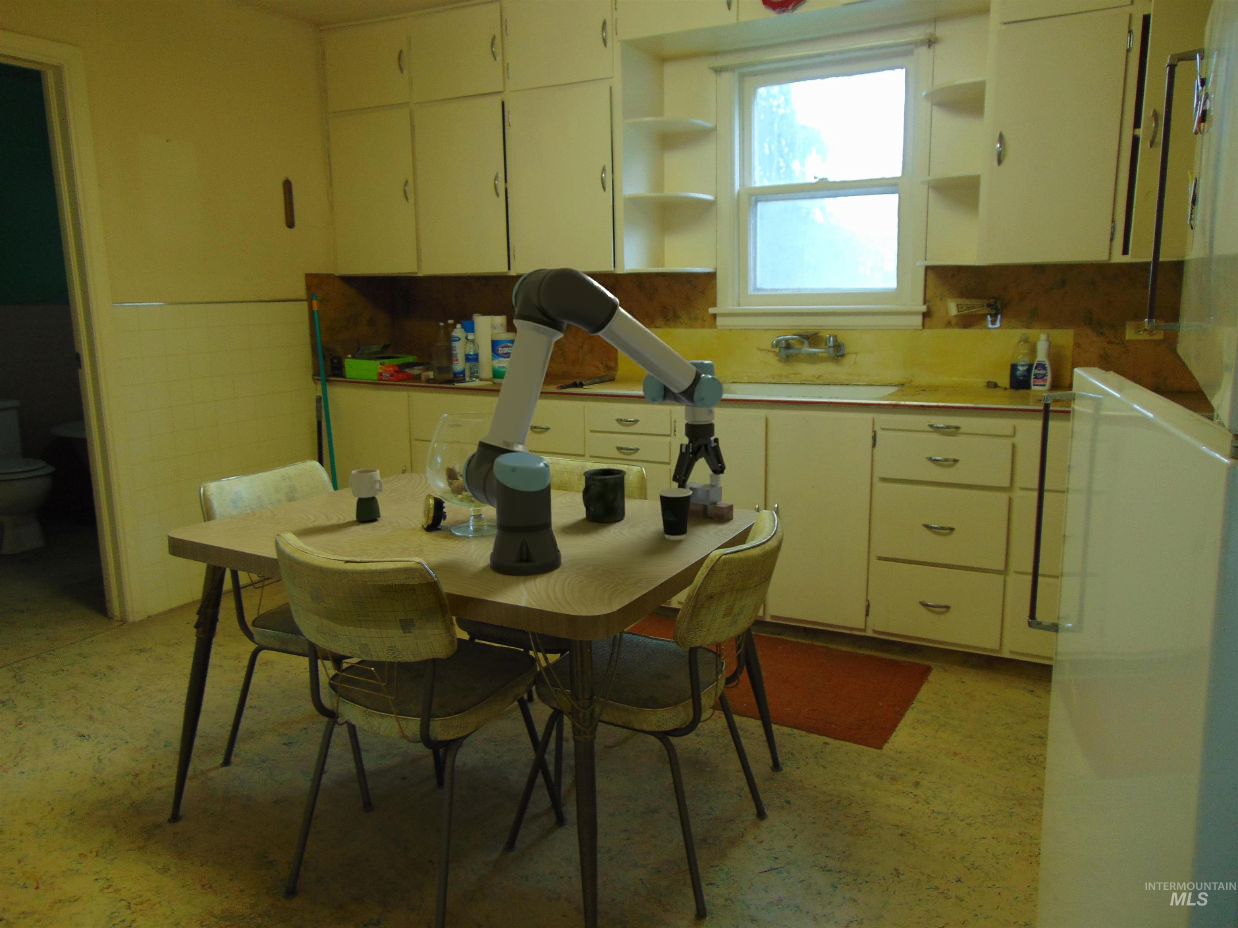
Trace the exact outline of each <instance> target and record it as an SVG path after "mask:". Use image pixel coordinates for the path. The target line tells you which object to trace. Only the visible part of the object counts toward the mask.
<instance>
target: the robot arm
mask: <svg viewBox="0 0 1238 928" xmlns="http://www.w3.org/2000/svg"><path fill="white" fill-rule="evenodd" d="M512 305H513V306H514V310H515V312H514V313H515V314H514V316H513V321H512V322H513V324H514V326H515V328H516V335H515V337H514V342H513V345H512V348H511V352H510V356H509V360H508V363H507V367H506V369H505V373H504V377H503V380H502V385H501V387H500V392H499V393H498V394H499V396H498V398H497V403H496V406H495V409H494V413H493V417H492V418H491V419H492V420H491V423H490V427H489V430H488V433H487V434H486V435H484V436H483V437H481V438H479V440H478V444H477V447H476V450H475V452H474V453H471V454H470V455H469V457H467V459H466V460H465V462H464V465H463V469H462V473H461V474H462V481H463V485H464V487H465V489H466V490H467V492H468V494H469V495H471V497H473V498H474V499H475V500H477V501H478V502H479V503H482V504H485V505H489V506H490V507H492V508H495V516H496V517H495V518H496V520H495V521H496V534H495V538H494V542H493V547H492V551H491V553H490V555H489V568H490V569H491V570H492V571H494V572H496V573H499V574H503V575H510V576H530V575H539V574H545V573H548V572H551V571H554V570H556V569H558V568H559V567H561V565H562V554H561V550H560V549H559V546H558V542H557V538H556V537H555V534H554V533H555V532H554V531H553V523H552V522H553V521H552V517H553V516H552V487H551V485H552V484H551V483H552V474H551V469H550V464H549V461H548V460H547V459H546V458H544V457H543V456H541V455H539V454H536V453H530V450H529V449H528V447H527V440H528V437H529V433H530V429H531V427H532V422H533V420H534V415H535V412H536V408H537V404H538V401H539V397H540V393H541V390H542V386H543V385H544V384H543V383H544V379H545V377H546V373H547V370H548V366H549V362H550V358H551V356H552V352H553V349H554V345H555V342H556V341H557V340H559V339H561V338H563V337H564V335H565V331H566V327H567V324H570V325H573V326H576V327H578V328H581V329H582V330H583V331H585V332H587V333H588V334H589V335H591V336H597V335H598V336H600V338H602V339H604V340H605V341H606V342H607V343H608V344H610V345H612V346H613V347H614V348H615V349H616V350H618V351H619V352H621V353H622V354H623V355H625V356H626V357H627V358H629V359H630V360H631V361H632V362H634V363H635V364H637V365H638V366H639V367H640V368H642V369H643V370H644V371H646V372H648V373H647V374H646V375H645V376H644V378H643V381H642V393H643V396H644V398H645V399H646V401H647V402H649V403H653V404H654V403H658V404H662V403H672V404H673V403H674V404H678V405H684V421H686V422H685V423H684V436H685V437H686V438H687V439H688V441H687V443H680V444H679V453H678V457H677V460H676V464H675V466H674V467H675V468H674V471H673V475H672V477H671V478H672V479H671V481H672V482H674V483H675V484H676V483H677V488H683V489H688V490H689V483H687V482H689V480H690V476H691V475H692V471H694V467H695V465H696V463H697V462H698V461H699V460H700V459H702V458H703V459H704V461H705V462H706V464H707V465H708V467H709V470H710V471H711V473H709V484H711V485H717V486H721V475H724V474H725V471H726V464H725V461H724V457H723V455H722V451H721V447H720V440H719V439H720V438H719V437H715V433H716V432H715V430H716V429H715V427H716V426H715V423H714V420H715V407H716V406H717V405H718V404H719V403H720V402H721V400H722V399H723V395H724V387H723V384H722V381H721V380H720V379H719V378H718V377H717V376H716V373H715V372H716V369H715V364H714V363H713V361H711V360H705V359H704V360H703V359H700V360H699V359H698V360H697V359H695V360H694V359H693V360H686V358H684V357H682V356H681V355H680V354H679V352H676V350H674V349H672V348H671V347H670V346H669V345H668V344H666V343H665V342H664V341H663V340H662V339H661V338H659V337H657V335H656V334H654V332H653V333H652V331H651V330H649V329H648V328H647V327H645V325H643V324H642V323H640V322H639V321H638V320H637V319H635V317H634V316H632V315H631V314H629V313H628V312H627V311H626V310H624V309H623V308H622V307H621V306H620V300H619V299H618V298H617V297H616V296H615V295H614V294H612V293H611V292H610V291H608V290H607V289H606V288H605V287H604V286H603V285H600V284H599V283H598V282H597V281H596V280H594V279H593V278H591V277H590V276H588V275H587V274H585V273H584V272H582V271H580V270H577V269H574V268H571V267H559V268H539V269H534V270H531V271H528V272H527V273H525V274H523V275H522V276H521V277H520V278H519V279H518V280H517V282H516V283H515V286H514V288H513V291H512Z"/></svg>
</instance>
